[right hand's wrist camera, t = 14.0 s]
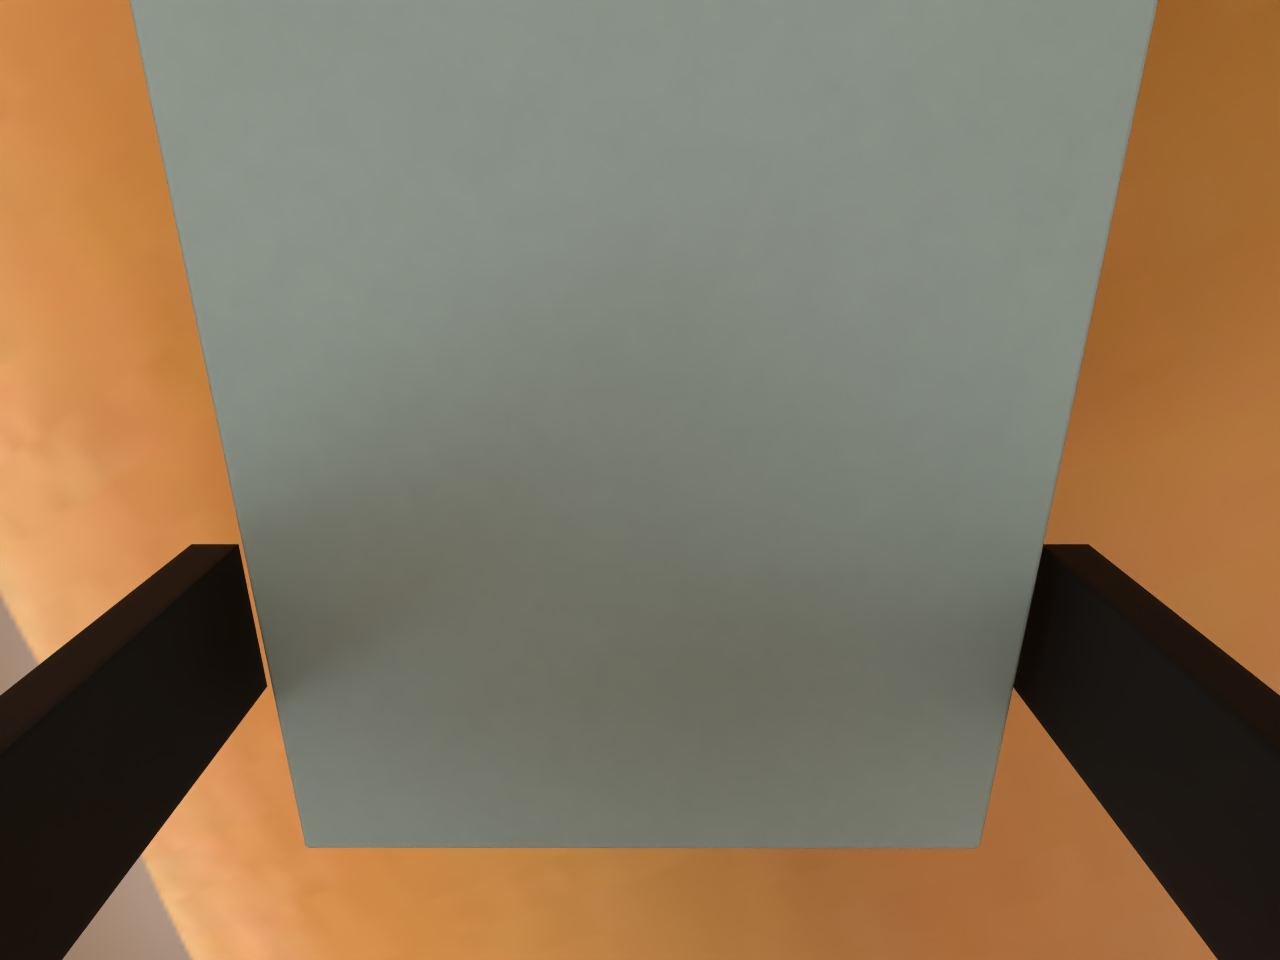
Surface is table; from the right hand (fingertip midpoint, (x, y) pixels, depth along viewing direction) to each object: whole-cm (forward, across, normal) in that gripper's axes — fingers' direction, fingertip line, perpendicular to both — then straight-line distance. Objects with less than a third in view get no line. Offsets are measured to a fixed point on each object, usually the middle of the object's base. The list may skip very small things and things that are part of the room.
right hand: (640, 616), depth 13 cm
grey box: (+10, 0, -3) cm, 10 cm away
